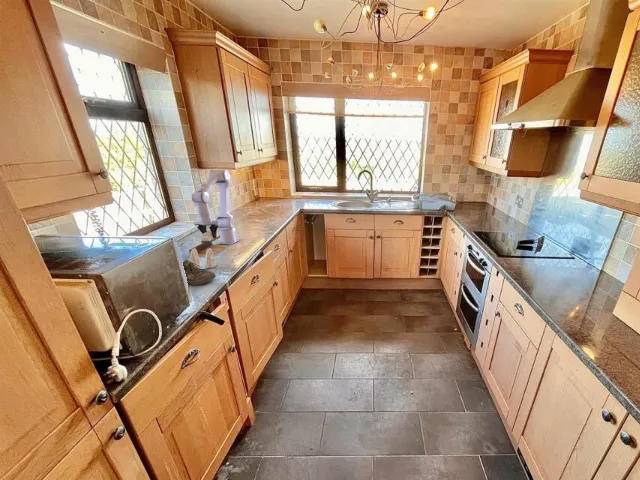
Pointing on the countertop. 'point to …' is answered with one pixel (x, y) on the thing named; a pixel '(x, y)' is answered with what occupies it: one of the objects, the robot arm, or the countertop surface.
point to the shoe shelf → (204, 246)
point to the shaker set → (209, 258)
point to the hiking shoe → (197, 274)
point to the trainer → (209, 237)
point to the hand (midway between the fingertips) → (210, 237)
